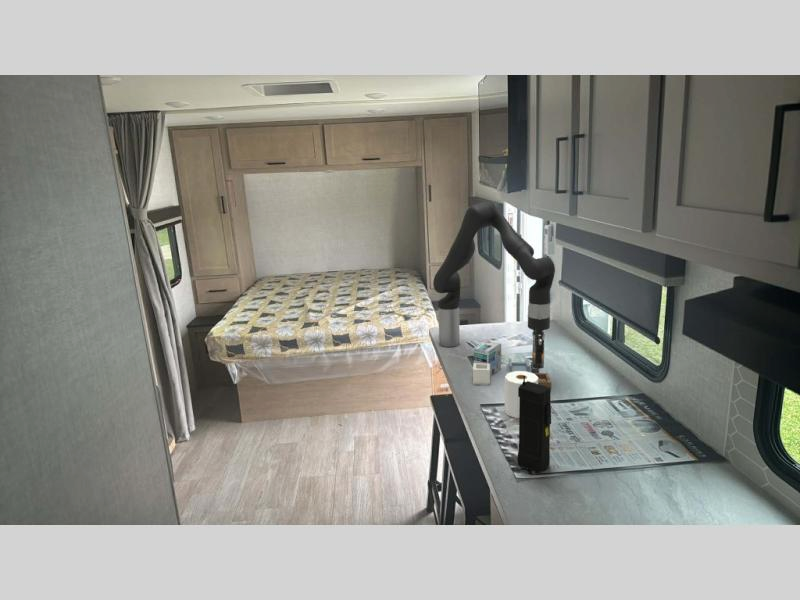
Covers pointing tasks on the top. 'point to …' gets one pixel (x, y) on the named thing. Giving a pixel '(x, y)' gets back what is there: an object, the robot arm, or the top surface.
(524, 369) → the tray
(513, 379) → the toilet paper
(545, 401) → the portable radio
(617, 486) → the top surface
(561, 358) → the top surface
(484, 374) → the pot
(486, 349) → the light bulb box
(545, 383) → the trough
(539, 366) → the cell
